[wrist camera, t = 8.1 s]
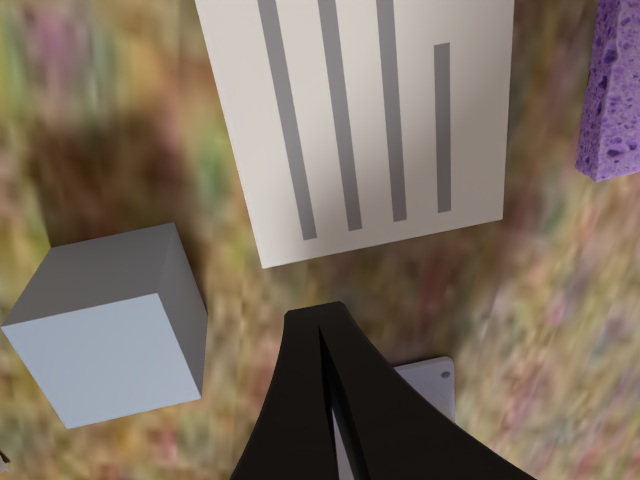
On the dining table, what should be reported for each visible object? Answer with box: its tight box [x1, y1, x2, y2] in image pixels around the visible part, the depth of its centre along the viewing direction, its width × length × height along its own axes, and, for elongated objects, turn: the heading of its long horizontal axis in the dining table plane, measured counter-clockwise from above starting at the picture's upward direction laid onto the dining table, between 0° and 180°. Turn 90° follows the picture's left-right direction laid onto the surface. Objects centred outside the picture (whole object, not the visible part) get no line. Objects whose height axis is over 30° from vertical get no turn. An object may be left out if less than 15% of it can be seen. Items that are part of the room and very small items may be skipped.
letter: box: [195, 0, 514, 268], centre depth 18 cm, size 15×11×1 cm
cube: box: [1, 222, 208, 429], centre depth 19 cm, size 5×5×5 cm
